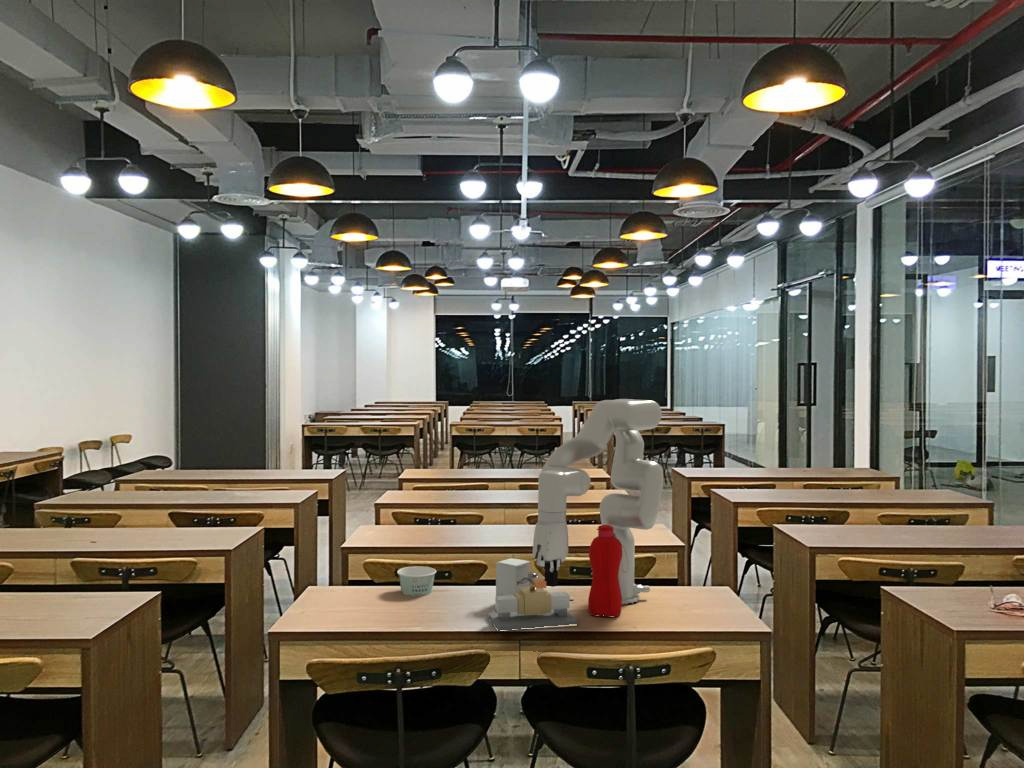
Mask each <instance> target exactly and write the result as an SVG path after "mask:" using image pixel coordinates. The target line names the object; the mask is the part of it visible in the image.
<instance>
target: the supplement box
mask: <svg viewBox="0 0 1024 768" xmlns="http://www.w3.org/2000/svg"><path fill="white" fill-rule="evenodd" d="M495 566H496V567H495V569H496V570H495V574H496V575H495V596H506V595H514V592H519V587H530V581H528V573H530V571H531V561H529V560H525V559H524V560H523V559H518V558H513V557H512V558H507V559H503V560H500V561H497V562H496V564H495Z"/></svg>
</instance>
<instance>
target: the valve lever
mask: <svg viewBox="0 0 1024 768" xmlns="http://www.w3.org/2000/svg"><path fill="white" fill-rule="evenodd" d="M528 581H532V582H533V583H534V586H535V587H536V588H537V589H540V588H543V589H547V585H546V581H545V578H543V577H542V578H540V577H539V573H538V572H536V571H535V572H534V571H533V572H530V573H528Z"/></svg>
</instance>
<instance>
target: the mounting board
mask: <svg viewBox="0 0 1024 768" xmlns="http://www.w3.org/2000/svg"><path fill="white" fill-rule="evenodd" d="M487 614H488V615H487V618H489V619H490V620H491V621H490V620H489V619H488V620H489V621H490V623H491V622H492V623H493V624H494V625H495V627H496V628H497V629H498V631H500V630H512V629H521V628H535V627H544V626H558V625H569V624H578V625H579V623H578V622H579V621H578V619H577V618H575V617H574V615H572V613H570V611H568V610H567V617H558V616H557V615H556V614H555V613H554V609H553V610H551V612H550V613H546V614H536V615H524V614H521V615H518V614H517V612H510V621H501V620H500V619H499V617H498V612H497V611H496V612H488V613H487ZM492 623H491V624H492ZM493 624H492V625H493ZM494 625H493V626H494ZM495 627H494V628H495ZM496 628H495V629H496ZM497 629H496V630H497ZM498 631H497V632H498Z"/></svg>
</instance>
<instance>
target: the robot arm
mask: <svg viewBox="0 0 1024 768" xmlns="http://www.w3.org/2000/svg"><path fill="white" fill-rule="evenodd" d="M661 420H662V407H661V406H660V404H659V403H658V402H656V401H654V400H649V399H632V398H630V399H629V398H618V399H617V398H616V399H604V400H600V401H598V402H597V403H596V404H595V405H594V407H593V408H592V410H591V411H590V413H589V415H588V417H587V419H586V421H585V422H584V424H583V426H582V427H581V428H580V430H579V432H578V434H577V435H576V436H575V437H572V438H571V439H569V440H567V441H566V442H564V443H563V444H561V445H560V446H559V447H557V448H556V449H555V450H554V451H552V453H550V455H548V456H549V457H548V458H547V460H546V461H545V463H544V465H543V467H542V469H541V471H540V473H539V475H538V487H537V490H538V491H537V495H538V497H537V501H538V502H537V522H536V523H535V527H534V532H533V541H532V542H533V543H532V559H534V560H536V566H538V567H542V570H543V571H544V580H545V581H546V587H547V586H549V587H552V588H553V587H557V586H558V584H559V583H558V580H559V575H558V573H559V570H560V567H561V564H562V563H563V562H565V561H566V559H567V556H568V554H569V533H568V532H569V531H568V524H567V497H580V496H582V495H585V494H586V493H588V491H589V489H590V487H591V483H592V482H591V481H592V480H591V477H590V474H588V473H587V472H586V471H585V469H584V470H583V469H580V468H577V467H569V466H571V465H573V464H575V463H576V462H579V461H582V460H587V459H590V458H593V457H595V456H598V455H600V454H602V453H603V452H604V450H605V448H606V447H607V445H608V443H609V442H610V439H611V437H612V435H615V447H614V455H613V459H612V460H613V461H612V467H611V472H610V482H611V485H612V486H613V487H614V488H615V489H618V490H623V491H630V492H637V493H638V492H639V495H632V494H625V493H616V492H615V493H609V494H607V495H605V496H604V497H602V499H601V501H600V504H599V516H600V522H601V525H609V526H612V527H613V528H614V533H615V534H616V535H615V536H616V538H617V539H618V540H619V541H620V543H621V544H622V545H623V546H622V558H621V562H620V567H619V573H618V580H619V585H620V591H621V596H622V605H629V604H628V603H632V604H634V603H633V602H636V603H637V602H639V601H638V600H640V594H641V593H649V592H650V590H651V589H650V586H649V585H642V584H636V583H635V557H636V556H635V554H636V553H635V552H636V551H635V547H636V545H635V541H636V540H635V537H634V534H633V532H632V530H631V529H635V530H636V529H637V530H644V531H646V530H651V529H652V528H653V527H654V526H655V525H656V523H657V520H658V518H659V517H658V516H659V509H660V506H661V505H660V504H661V498H662V494H663V493H662V491H663V486H664V471H663V469H662V466H661V465H660V464H659V463H658V462H656V461H653V460H649V459H643V457H644V450H645V441H644V439H643V436H642V435H641V433H640V432H639V431H646V430H647V431H649V430H653V429H656V427H657V426H658V425H659V424H660V423H661ZM624 548H625V550H624ZM625 551H626V553H625ZM626 555H627V557H626ZM627 560H628V562H627ZM622 570H623V571H624V572H626V573H624V572H623V571H622ZM627 570H628V571H627Z"/></svg>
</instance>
